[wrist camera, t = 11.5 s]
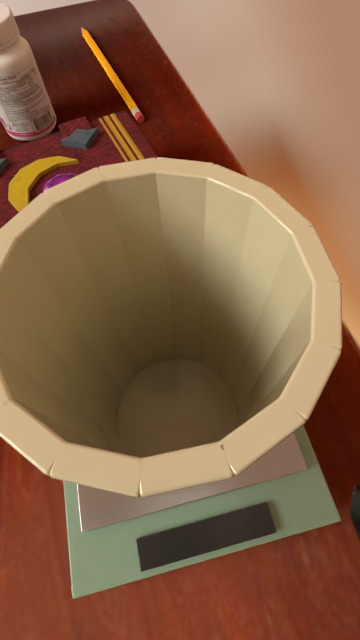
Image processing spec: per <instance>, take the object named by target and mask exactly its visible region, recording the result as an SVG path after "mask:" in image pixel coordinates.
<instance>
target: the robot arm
mask: <svg viewBox="0 0 360 640" xmlns="http://www.w3.org/2000/svg"><path fill="white" fill-rule="evenodd" d="M350 515H351V519H352V522H353V525H354V528H355V530H356V533H357V535H358V538H359V540H360V484H357V485H355V486H354V487H353V492H352V500H351V508H350Z"/></svg>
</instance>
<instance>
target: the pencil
mask: <svg viewBox="0 0 360 640" xmlns="http://www.w3.org/2000/svg"><path fill="white" fill-rule="evenodd" d="M82 35H83V37H84V38H85V40H86V42H87V43H88V45H89V46H90V48H91V49H92V51H93V53H94V54H95V56H96V57H97V59H98V60H99V62H100V64H101V65H102V67H103V68H104V70H105V71H106V73H107V75H108V76H109V78H110V79H111V81H112V82H113V84H114V86H115V87H116V89H117V90H118V92H119V93H120V95H121V97H122V98H123V100H124V101H125V103H126V104H127V106H128V108H129V109H130V111H131V112H132V114H133V115H134V117H135V119H136V120H137V121H138V123H142V122H144V119H145V118H144V116H143V115H142V113H141V112H140V110H139V109H138V107H137V105H136V104H135V102H134V101H133V99H132V98H131V96H130V95H129V93H128V92H127V90H126V89H125V87H124V86H123V84H122V83H121V81H120V80H119V78H118V77H117V75H116V74H115V72H114V71H113V69H112V67H111V66H110V64H109V63H108V61H107V60H106V58H105V57H104V55H103V54H102V52H101V51H100V49H99V48H98V46H97V45H96V43H95V42H94V40H93V39H92V37H91V36H90V34H89V33H88V31H87V30H85V29H83V28H82Z"/></svg>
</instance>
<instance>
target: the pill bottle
mask: <svg viewBox="0 0 360 640" xmlns="http://www.w3.org/2000/svg"><path fill="white" fill-rule="evenodd" d="M0 120H1V122H2V124H3V126H4V128H5V129H6V131H7V133H8V134H9V135H10V136H11V137H13V138H14V139H17V140H22V141H31V140H34V139H37V138H40V137H43V136H46V135H48V134H49V133H50V132H51V131H52V130H53V129H54V127H55V125H56V115H55V112H54V110H53V107H52V105H51V102H50V100H49V97H48V94H47V92H46V89H45V86H44V83H43V81H42V78H41V75H40V72H39V70H38V67H37V64H36V61H35V59H34V56H33V53H32V50H31V48H30V46H29V44H28V42H27V41H26V40H25V39H24V38H23V37H21V36H20V32H19V29H18V26H17V24H16V22H15V19H14V17H13V14H12V12H11V10H10V8H9V7H8V6H7V5H5V4H2V3H0Z"/></svg>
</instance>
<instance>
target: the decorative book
mask: <svg viewBox="0 0 360 640" xmlns="http://www.w3.org/2000/svg"><path fill="white" fill-rule="evenodd" d="M58 127H59V130H60V131H59V132H56V133H53V134H49V135H46V136H43V137H40V138H37V139H34V140H31V141H28V142H25V143H22V144H19V145H16V146H13V147H10V148H7V149H4V150H1V151H0V228H2V227H3V226H4V225H5V224H6V223H7V222H8V221H10V220H11V219H12V218H13V217H14V216H15V215H16V214H18V213H19V212H20V211H21V210H22V209H23V208H24V207H26V206H27V205H28V204H29V203H30V202H31V201H32V200H34V199H35V198H36V197H37V196H38V195H39V194H40V193H44V191H45V190H47V189H49V188H51V187H53V186H55V185H58V184H60V183H62V182H64V181H66V180H69V179H71V178H73V177H75V176H77V175H80V174H82V173H84V172H86V171H88V170H91V169H93V168H95V167H98V168H99V167H100V166H104V165H110V164H116V163H122V162H129V161H135V160H141V159H147V158H153V157H154V158H157V157H158V156H157V155H156V154H155V152H154V151H153V149H152V148H151V147H150V145H149V144H148V142H147V141H146V139H145V138H144V137H143V135H142V134H141V132H140V131H139V130H138V128H137V127H136V125H135V124H134V123H133V121H132V120H131V118H130V117H129V115H128V114H127V113H126V111H125V110H123V111H120V112H117V113H114V114H111V115H108V116H104V117H101V118H98V119H95V120H92V121H89V122H88V121H87V119H86V118H85V116H84V117H81V118H78V119H75V120H71V121H68V122H65V123H62V124H59V125H58Z"/></svg>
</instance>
